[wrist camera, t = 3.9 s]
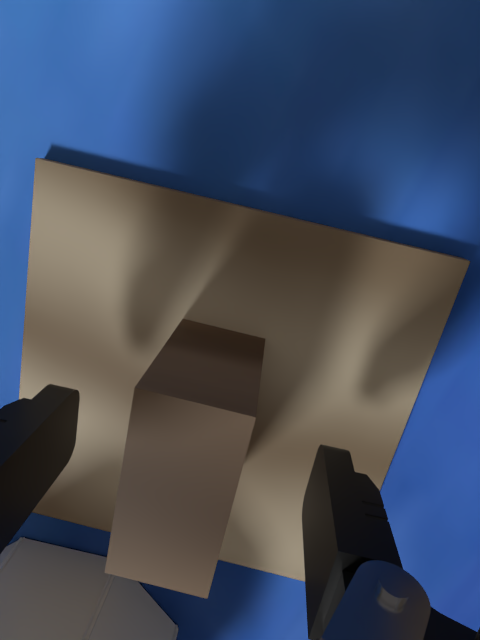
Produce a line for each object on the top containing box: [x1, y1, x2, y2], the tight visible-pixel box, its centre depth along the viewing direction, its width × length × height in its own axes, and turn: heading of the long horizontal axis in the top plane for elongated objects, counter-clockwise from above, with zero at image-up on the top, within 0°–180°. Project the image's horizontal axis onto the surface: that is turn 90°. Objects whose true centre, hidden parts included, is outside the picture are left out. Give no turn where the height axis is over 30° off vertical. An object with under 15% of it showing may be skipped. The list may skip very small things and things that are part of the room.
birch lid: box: [19, 158, 470, 599], centre depth 12 cm, size 12×12×6 cm
